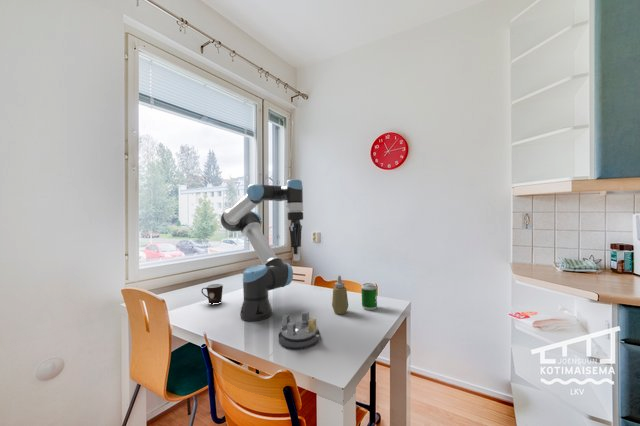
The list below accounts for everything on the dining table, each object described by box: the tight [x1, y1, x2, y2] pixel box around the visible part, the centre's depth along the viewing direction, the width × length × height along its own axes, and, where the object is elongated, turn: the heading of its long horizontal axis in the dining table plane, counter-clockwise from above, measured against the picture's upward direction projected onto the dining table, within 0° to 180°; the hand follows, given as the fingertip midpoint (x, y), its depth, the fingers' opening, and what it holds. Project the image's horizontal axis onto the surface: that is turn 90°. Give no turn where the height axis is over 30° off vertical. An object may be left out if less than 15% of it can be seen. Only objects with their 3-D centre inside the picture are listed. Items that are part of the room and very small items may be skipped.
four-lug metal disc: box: [281, 310, 318, 342], centre depth 102 cm, size 14×14×6 cm
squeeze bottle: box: [331, 275, 349, 315], centre depth 128 cm, size 8×8×18 cm
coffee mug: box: [201, 283, 224, 304], centre depth 148 cm, size 12×9×10 cm
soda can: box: [360, 282, 378, 311], centre depth 132 cm, size 8×8×12 cm
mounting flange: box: [278, 328, 321, 351], centre depth 102 cm, size 16×16×2 cm
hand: (296, 260), depth 126 cm, fingers closed
